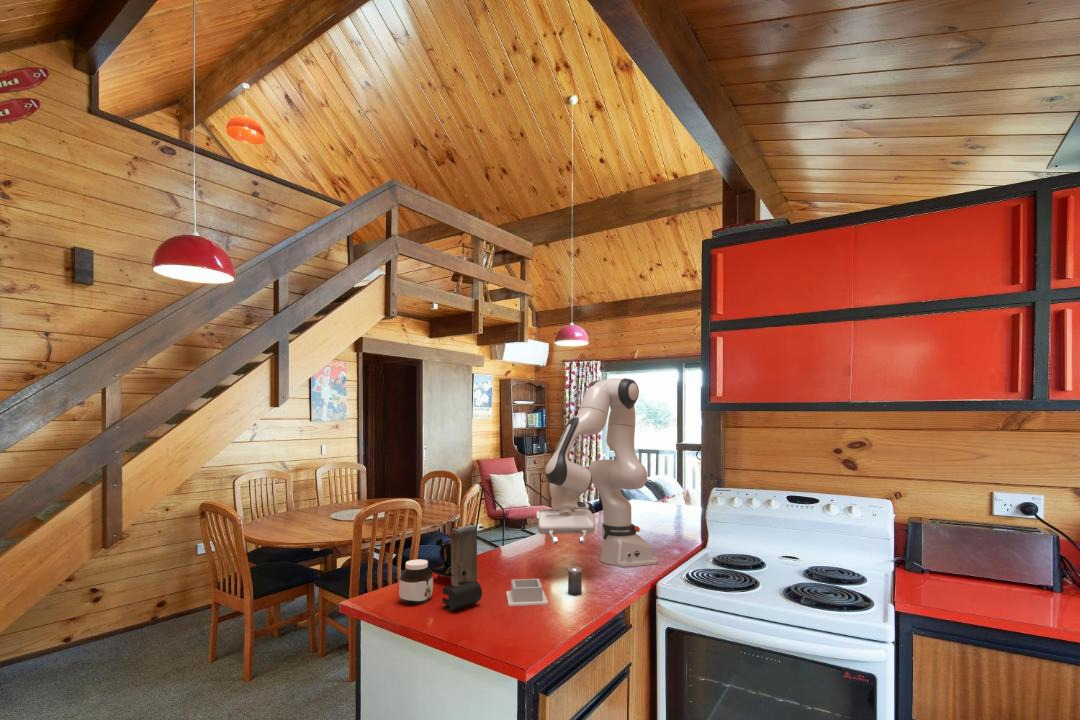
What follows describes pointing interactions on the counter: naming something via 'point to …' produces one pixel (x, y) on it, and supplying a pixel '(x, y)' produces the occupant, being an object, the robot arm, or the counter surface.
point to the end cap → (461, 595)
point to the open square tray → (526, 593)
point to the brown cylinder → (574, 580)
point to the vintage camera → (459, 555)
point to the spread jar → (416, 582)
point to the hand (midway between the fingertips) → (568, 543)
